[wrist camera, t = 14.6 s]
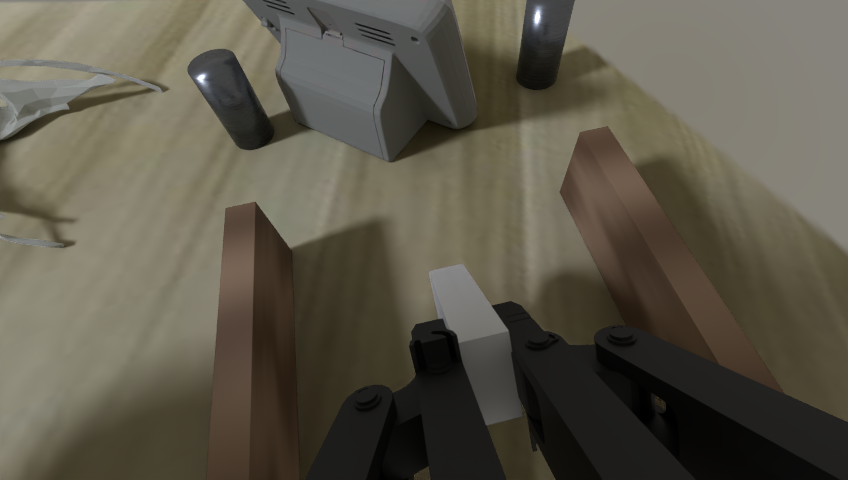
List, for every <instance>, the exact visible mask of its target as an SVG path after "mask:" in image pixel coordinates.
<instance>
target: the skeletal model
mask: <svg viewBox="0 0 848 480" xmlns="http://www.w3.org/2000/svg"><path fill="white" fill-rule="evenodd" d="M0 66H48V67H56V68H64V69H72V70H78V71H85V72H92V73H98V75H96V76H95V77H93V78H92V79H90V80H45V81H17V80H6V79H0V98H2V99H3V100H4V101H6V103H7V105H8V107H0V140H3V139H8V138H9V137H11V136H13V135H14V134H16V133H17V132H19V131H20V130H21V129H22V128H24V127H25V126H26V125H28V124H29V123H31V122H32V121H34V120H36V119H38V118H40V117H42V116H44V115H46V114H48V113H51V112H54V111H58V110H64V109H69V107H68V105H67V103H68V102H69V101H71V100H73V99H74V98H76V97H78V96H80V95H82V94H85V93H87V92H89V91H91V90H94V89H96V88H98V87H101V86H104V85H108V84H111V83H113V82H114V81H115V79H113V78H110V77H108V76H105V75H111V76H116V77H120V78H123V79H127V80H130V81H133V82H136V83H139V84H141V85H144V86H146V87H149V88H152V89H154V90H157V91H159V92H162V90H161V89H160V88H159V87H158V86H155V85H152V84H150V83H147V82H144V81H141V80H138V79H135V78H132V77H129V76H127V75H124V74H120V73H116V72H112V71H108V70H104V69H100V68H96V67H92V66H88V65H84V64H79V63H72V62H65V61H53V60H28V59H21V60H0ZM103 74H104V75H103ZM162 93H163V92H162ZM2 117H4V119H3V118H2ZM3 218H4V215H2V214H0V219H3ZM0 239H3V240H6V241H10V242H14V243H18V244H26V245H34V246H42V247H55V248H62V247H64V244H63V243H57V242H51V241H45V240H39V239H29V238H19V237H13V236H9V235H4V234H0Z"/></svg>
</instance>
